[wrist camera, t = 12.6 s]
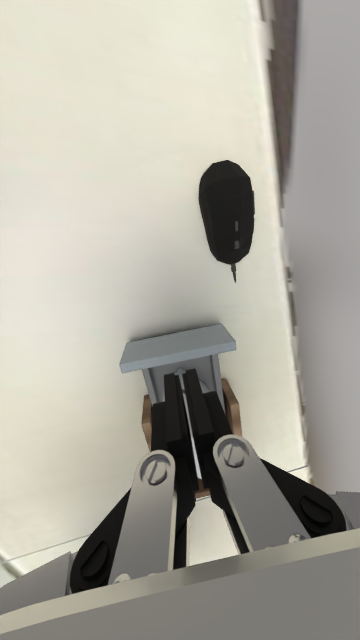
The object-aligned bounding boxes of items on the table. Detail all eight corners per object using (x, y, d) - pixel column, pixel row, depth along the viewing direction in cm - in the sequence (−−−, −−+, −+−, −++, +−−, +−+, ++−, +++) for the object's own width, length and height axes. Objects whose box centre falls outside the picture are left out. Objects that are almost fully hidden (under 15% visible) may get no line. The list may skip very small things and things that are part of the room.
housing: (235, 454, 42) (247, 486, 36) (165, 469, 41) (166, 504, 36) (226, 378, 36) (238, 403, 30) (144, 395, 35) (141, 424, 30)
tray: (232, 418, 37) (245, 449, 31) (153, 435, 36) (152, 469, 31) (221, 323, 31) (235, 340, 25) (126, 342, 30) (119, 364, 25)
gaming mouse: (213, 288, 31) (221, 294, 27) (192, 170, 26) (198, 157, 22) (255, 277, 31) (268, 282, 27) (243, 158, 26) (257, 143, 22)
